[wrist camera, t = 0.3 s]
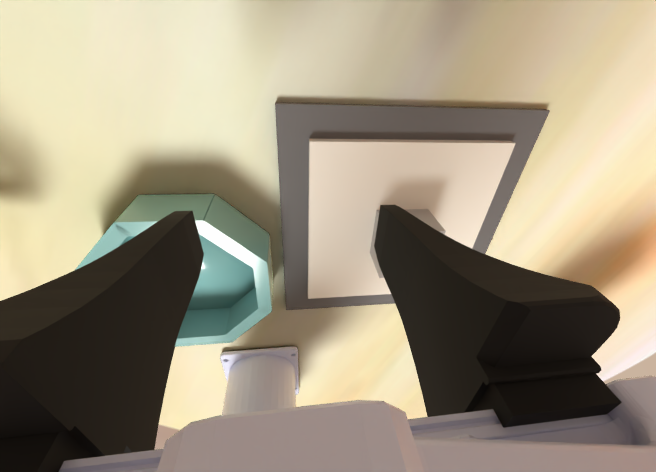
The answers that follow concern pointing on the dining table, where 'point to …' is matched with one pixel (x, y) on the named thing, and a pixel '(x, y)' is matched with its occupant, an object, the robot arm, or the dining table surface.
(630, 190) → the dining table surface
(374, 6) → the dining table surface
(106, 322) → the robot arm
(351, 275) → the cover
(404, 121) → the mat
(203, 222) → the bowl
